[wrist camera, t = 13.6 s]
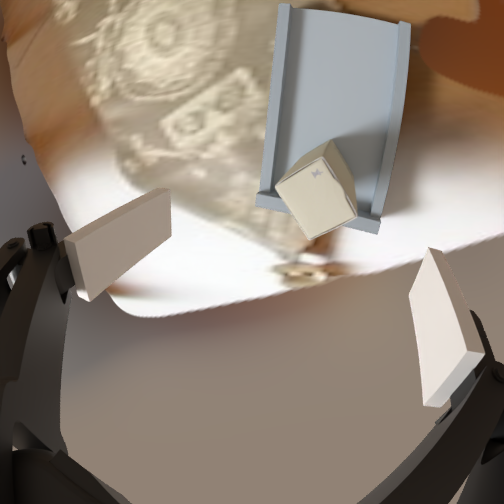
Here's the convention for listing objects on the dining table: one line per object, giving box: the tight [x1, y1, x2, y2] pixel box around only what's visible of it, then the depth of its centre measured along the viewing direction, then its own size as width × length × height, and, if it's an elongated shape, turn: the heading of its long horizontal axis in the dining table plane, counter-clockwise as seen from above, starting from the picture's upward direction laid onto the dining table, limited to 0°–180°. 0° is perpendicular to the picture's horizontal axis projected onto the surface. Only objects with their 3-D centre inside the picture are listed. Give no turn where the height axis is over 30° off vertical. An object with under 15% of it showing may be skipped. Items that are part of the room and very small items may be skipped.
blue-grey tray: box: [255, 3, 411, 234], centre depth 27 cm, size 24×14×5 cm, turn 175°
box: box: [275, 139, 358, 240], centre depth 25 cm, size 5×4×13 cm
